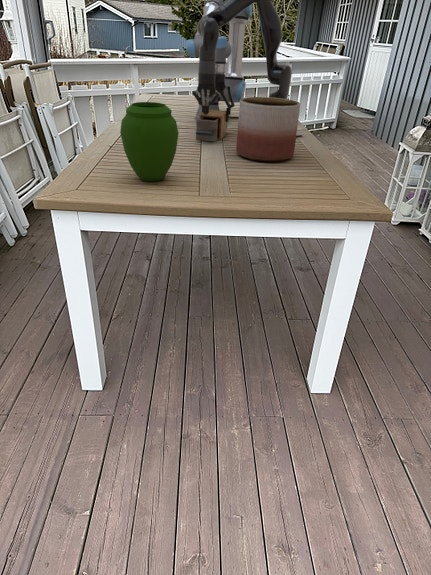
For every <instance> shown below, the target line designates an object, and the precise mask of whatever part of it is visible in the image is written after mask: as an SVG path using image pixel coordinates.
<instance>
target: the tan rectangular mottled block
mask: <svg viewBox="0 0 431 575" xmlns="http://www.w3.org/2000/svg"><path fill="white" fill-rule="evenodd" d="M202 117H213V118H220V127H219V136H218V138H217V141H218V140H219V141H221V140H222V139H223V138H224V137H225V136H226V135H227V132H228V122H226V110H223V109H222V110H221V109H219V110H209V113H208V114H207V115H204V113H201V114H200V117H199V119H201V118H202Z"/></svg>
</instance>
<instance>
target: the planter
mask: <svg viewBox="0 0 431 575" xmlns="http://www.w3.org/2000/svg"><path fill="white" fill-rule="evenodd" d="M300 109H301V103H300V102H299V101H297V100H294V99H288V98H287V99H282V98H272V97H269V96H247V97H243V98H242V99H240V102H239V109H238V117H239V118H238V122H237V133H236V146H235V149H236V150H235V152H236V153H237V154H238V155H239V156H241V157H243V158H245V159H248V160H251V161H256V162H265V163H266V162H268V163H273V162H283V161H287V160H289V159H291V158H292V157H293V156H294V154H295V148H296V142H297V141H296V140H297V137H296V135H297V133H298V125H299V116H300Z"/></svg>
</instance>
